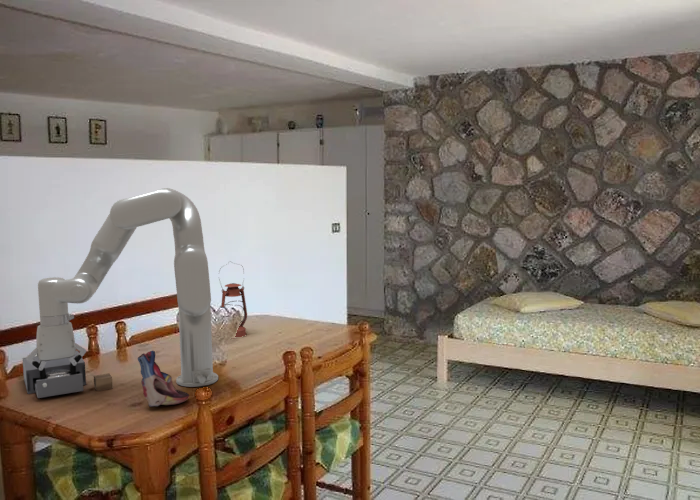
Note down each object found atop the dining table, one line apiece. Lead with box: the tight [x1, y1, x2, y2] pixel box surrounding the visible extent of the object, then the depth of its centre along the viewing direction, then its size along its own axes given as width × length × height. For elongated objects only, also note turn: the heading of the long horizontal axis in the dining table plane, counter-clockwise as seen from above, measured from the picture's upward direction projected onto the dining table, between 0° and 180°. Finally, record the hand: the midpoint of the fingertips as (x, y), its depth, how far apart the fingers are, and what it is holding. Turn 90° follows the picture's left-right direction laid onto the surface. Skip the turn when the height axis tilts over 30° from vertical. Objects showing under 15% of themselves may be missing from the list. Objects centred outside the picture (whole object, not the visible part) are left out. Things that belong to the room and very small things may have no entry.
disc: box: [46, 370, 71, 379], centre depth 188 cm, size 7×7×2 cm
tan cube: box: [93, 373, 114, 392], centre depth 192 cm, size 4×4×4 cm
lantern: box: [218, 260, 248, 338], centre depth 254 cm, size 10×10×30 cm
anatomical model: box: [137, 350, 190, 407], centre depth 176 cm, size 9×13×15 cm
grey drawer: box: [33, 373, 84, 399], centre depth 190 cm, size 16×12×5 cm
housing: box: [22, 350, 87, 395], centre depth 198 cm, size 16×16×7 cm
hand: (58, 379), depth 188 cm, fingers closed on disc, 6 cm apart
